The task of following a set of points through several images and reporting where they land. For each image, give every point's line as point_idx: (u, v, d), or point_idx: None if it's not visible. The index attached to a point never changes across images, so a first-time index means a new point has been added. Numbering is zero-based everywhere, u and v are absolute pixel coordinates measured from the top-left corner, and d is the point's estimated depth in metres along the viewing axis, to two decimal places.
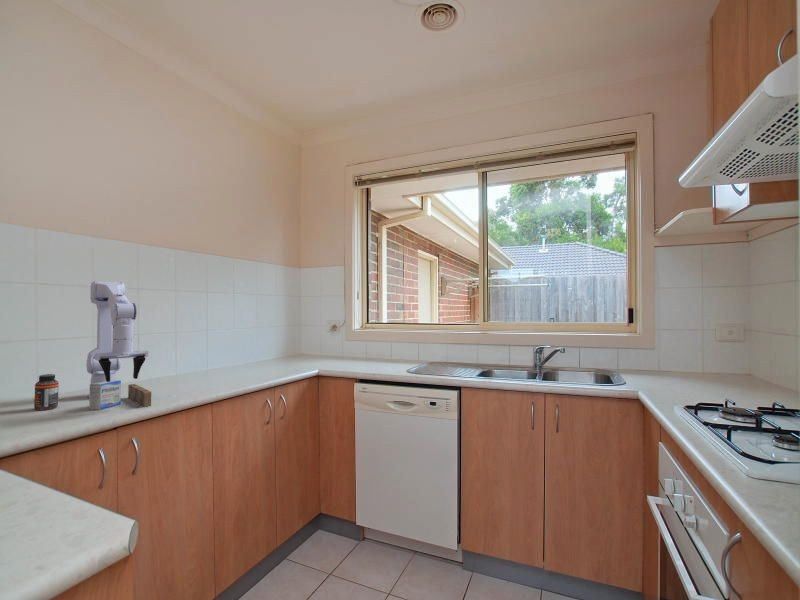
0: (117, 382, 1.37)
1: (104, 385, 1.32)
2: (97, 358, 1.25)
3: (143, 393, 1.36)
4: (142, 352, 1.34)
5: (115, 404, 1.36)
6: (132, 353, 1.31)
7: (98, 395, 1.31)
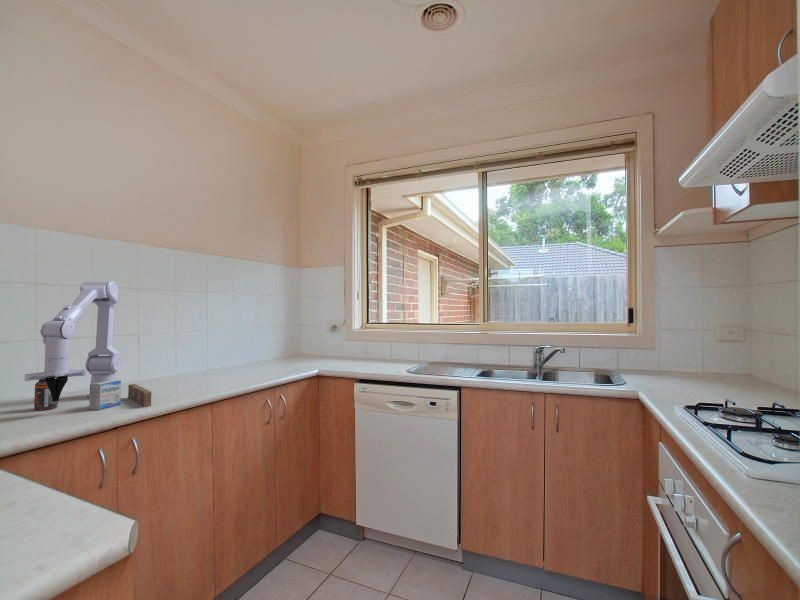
0: (117, 382, 1.37)
1: (104, 385, 1.32)
2: (26, 379, 1.19)
3: (143, 393, 1.36)
4: (78, 371, 1.28)
5: (115, 404, 1.36)
6: (66, 373, 1.25)
7: (98, 395, 1.31)
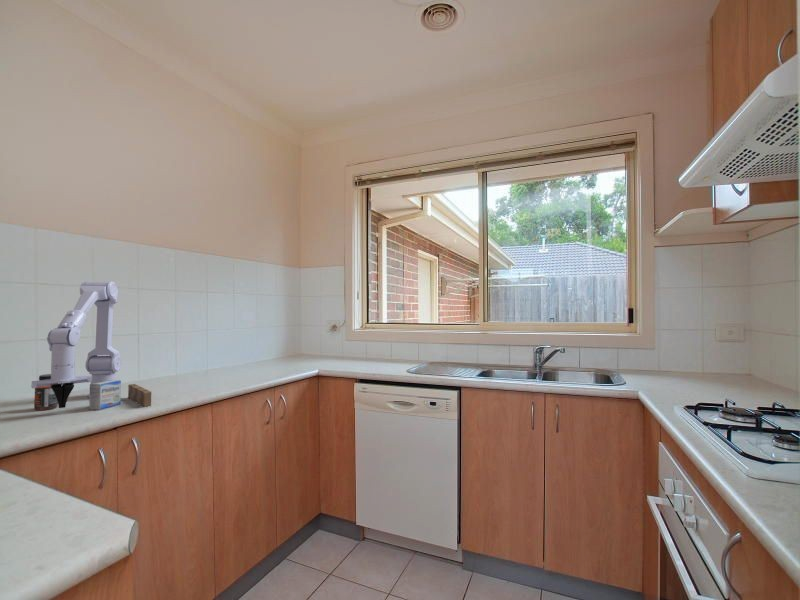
0: (117, 382, 1.37)
1: (104, 385, 1.32)
2: (33, 386, 1.21)
3: (143, 393, 1.36)
4: (84, 378, 1.30)
5: (115, 404, 1.36)
6: (72, 379, 1.26)
7: (98, 395, 1.31)
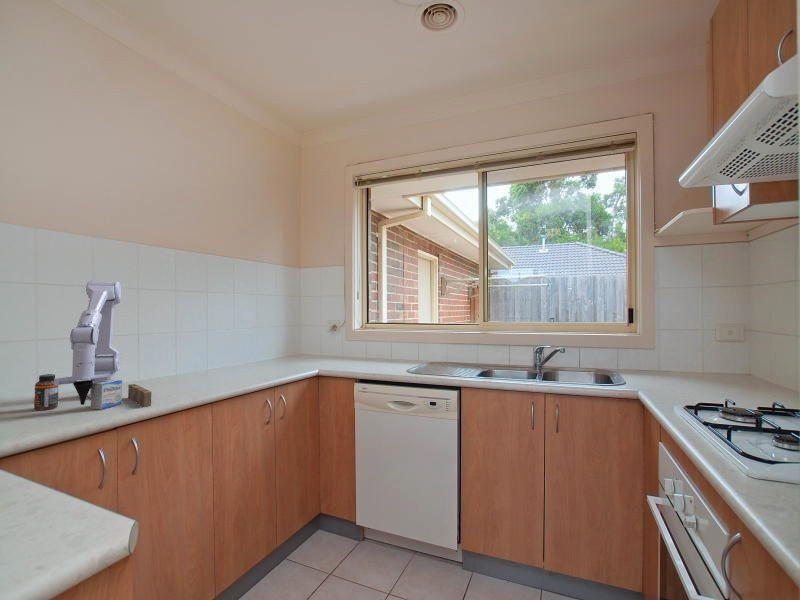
0: (118, 382, 1.37)
1: (105, 384, 1.32)
2: (56, 383, 1.24)
3: (143, 393, 1.36)
4: (104, 376, 1.33)
5: (116, 404, 1.36)
6: (93, 377, 1.30)
7: (100, 394, 1.31)
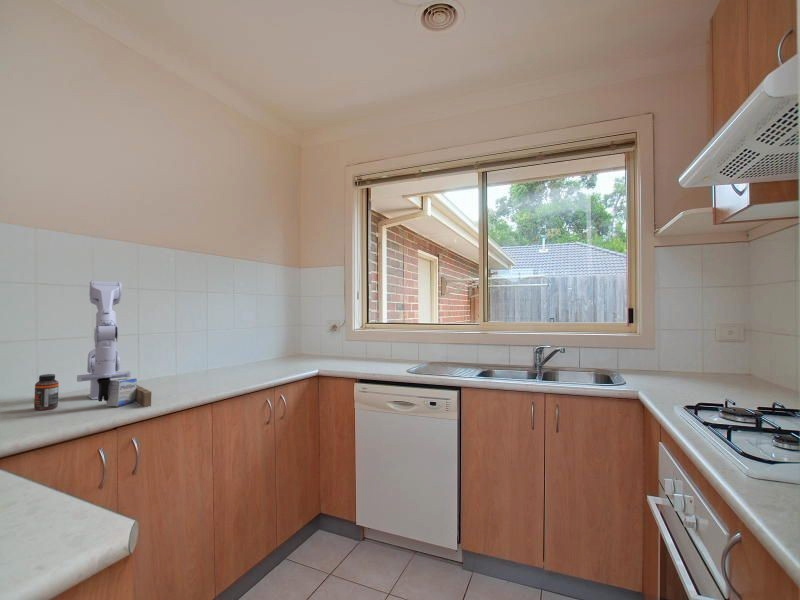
0: (133, 380, 1.40)
1: (122, 382, 1.35)
2: (79, 380, 1.28)
3: (143, 393, 1.36)
4: (124, 373, 1.37)
5: (130, 401, 1.39)
6: (114, 374, 1.34)
7: (116, 392, 1.34)
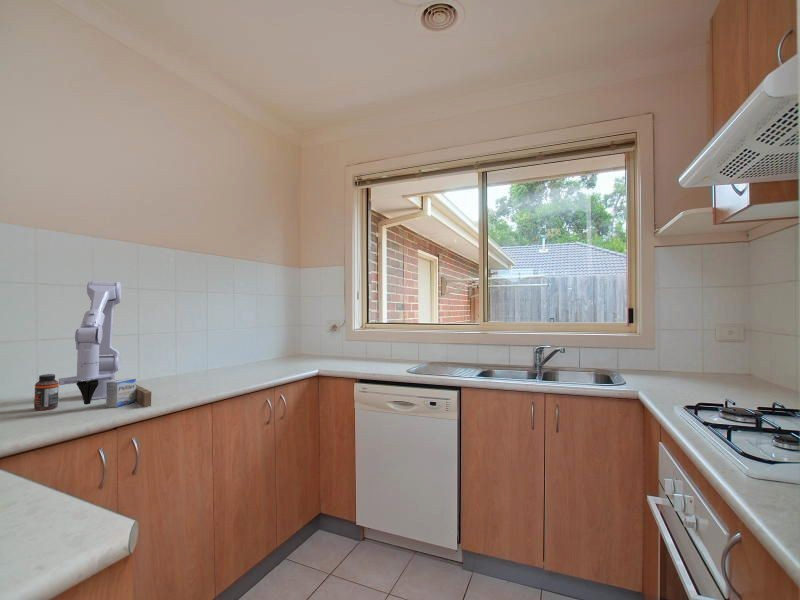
0: (132, 380, 1.40)
1: (120, 383, 1.35)
2: (61, 383, 1.25)
3: (143, 393, 1.36)
4: (108, 375, 1.34)
5: (131, 402, 1.39)
6: (97, 377, 1.31)
7: (115, 393, 1.34)
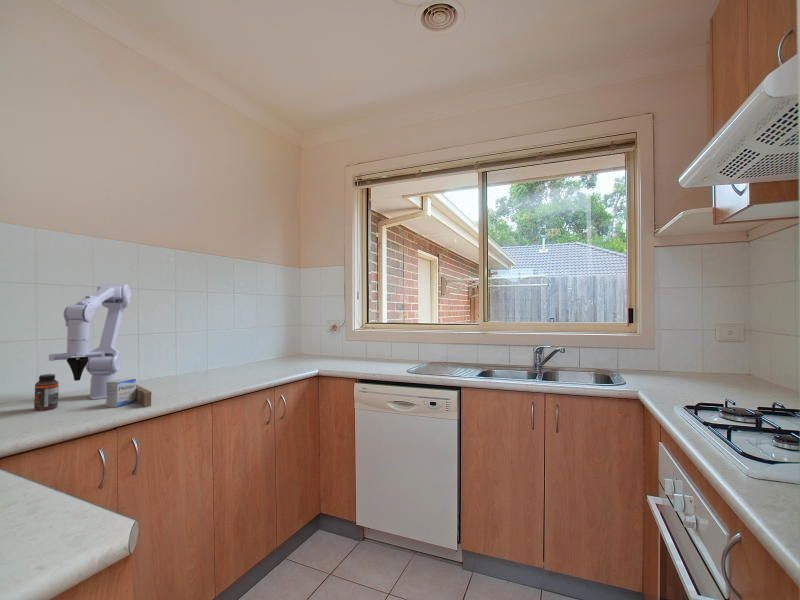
0: (132, 380, 1.40)
1: (120, 383, 1.35)
2: (50, 359, 1.27)
3: (143, 393, 1.36)
4: (98, 353, 1.36)
5: (131, 402, 1.39)
6: (87, 354, 1.33)
7: (115, 393, 1.34)
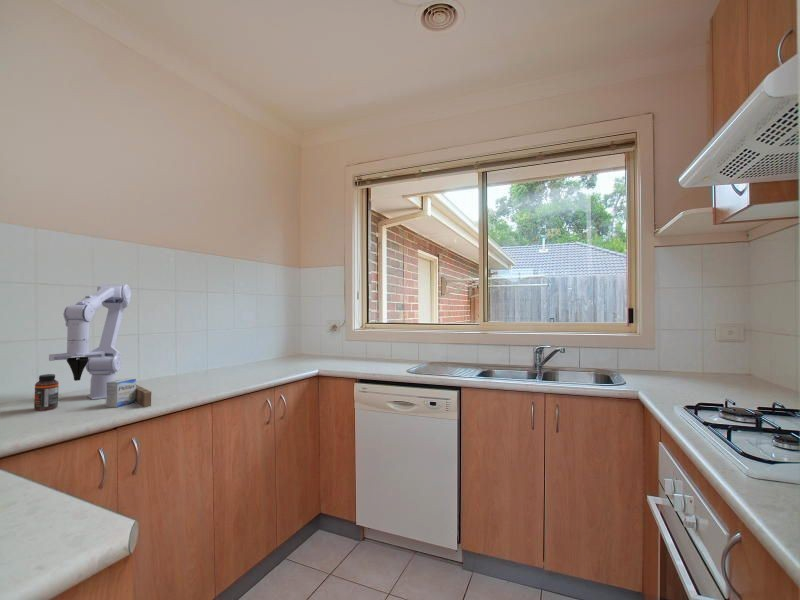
0: (132, 380, 1.40)
1: (120, 383, 1.35)
2: (50, 359, 1.27)
3: (143, 393, 1.36)
4: (98, 353, 1.36)
5: (131, 402, 1.39)
6: (87, 354, 1.33)
7: (115, 393, 1.34)
